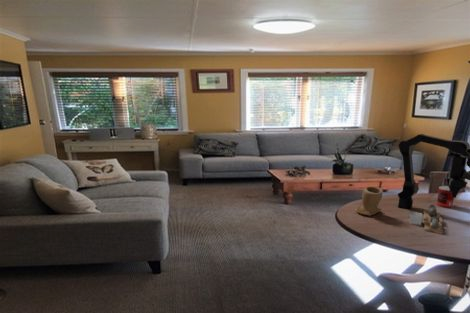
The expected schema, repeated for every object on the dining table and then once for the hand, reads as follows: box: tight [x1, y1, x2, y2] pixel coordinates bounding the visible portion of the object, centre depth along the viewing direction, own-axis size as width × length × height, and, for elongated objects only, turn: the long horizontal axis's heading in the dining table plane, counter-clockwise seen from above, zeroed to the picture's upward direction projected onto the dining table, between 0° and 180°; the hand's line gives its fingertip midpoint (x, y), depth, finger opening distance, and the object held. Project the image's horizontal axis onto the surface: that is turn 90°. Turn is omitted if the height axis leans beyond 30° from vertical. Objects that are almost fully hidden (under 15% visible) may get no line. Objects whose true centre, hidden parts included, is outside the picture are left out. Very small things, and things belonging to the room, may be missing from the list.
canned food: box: [436, 185, 455, 209], centre depth 166 cm, size 8×8×11 cm
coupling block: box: [408, 210, 423, 227], centre depth 144 cm, size 6×5×5 cm
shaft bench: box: [423, 204, 444, 235], centre depth 145 cm, size 8×27×5 cm, turn 148°
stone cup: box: [355, 185, 383, 216], centre depth 156 cm, size 15×12×15 cm
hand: (452, 194), depth 146 cm, fingers open, 9 cm apart
